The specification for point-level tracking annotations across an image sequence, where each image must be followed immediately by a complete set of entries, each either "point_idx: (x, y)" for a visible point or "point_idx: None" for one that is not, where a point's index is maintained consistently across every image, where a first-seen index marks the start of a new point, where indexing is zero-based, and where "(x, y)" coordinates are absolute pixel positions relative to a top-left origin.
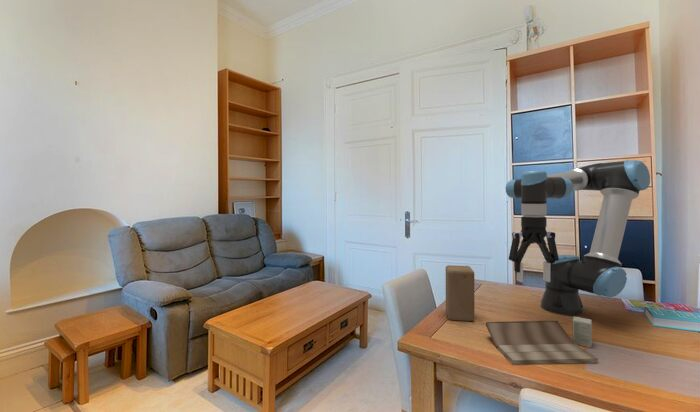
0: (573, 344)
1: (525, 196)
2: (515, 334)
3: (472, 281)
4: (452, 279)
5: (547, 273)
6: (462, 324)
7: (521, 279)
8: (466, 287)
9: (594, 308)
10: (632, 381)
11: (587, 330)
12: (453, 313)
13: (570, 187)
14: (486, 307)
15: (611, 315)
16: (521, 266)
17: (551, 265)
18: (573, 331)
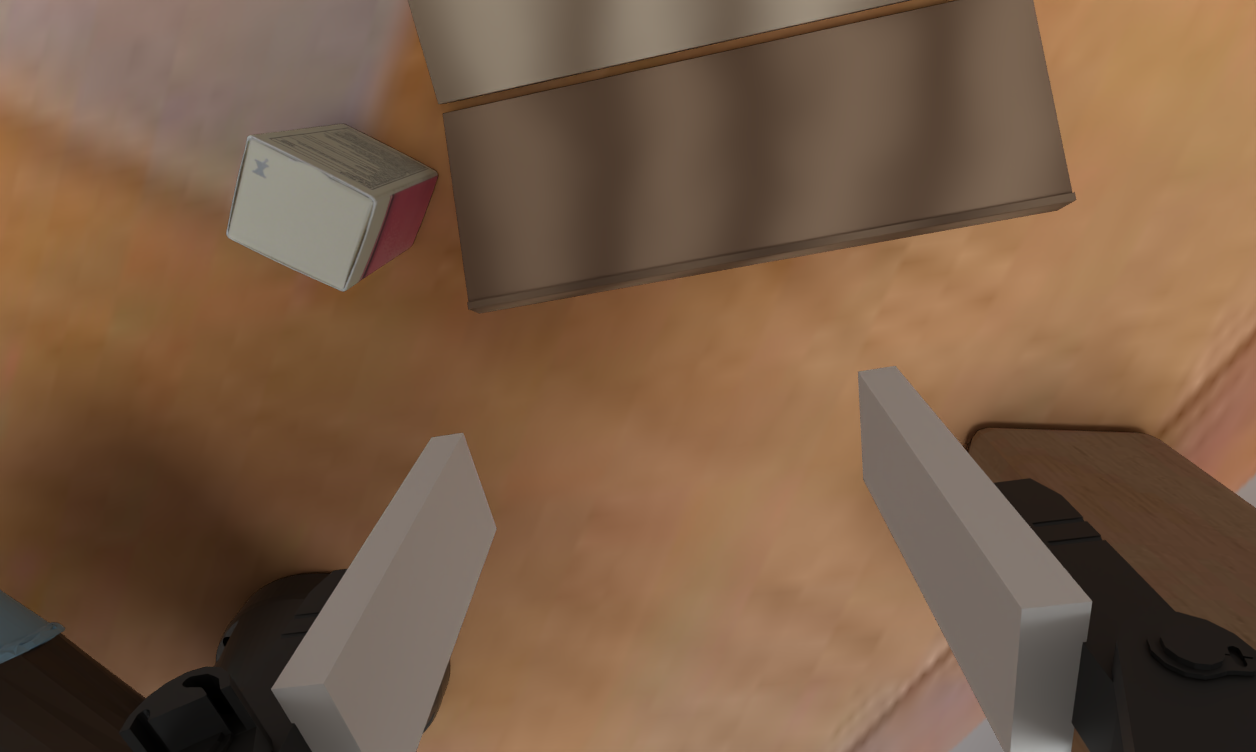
0: (454, 89)
1: None
2: (848, 117)
3: None
4: None
5: (426, 527)
6: (1077, 375)
7: (904, 388)
8: (1224, 605)
9: (167, 673)
10: None
11: (308, 142)
12: (1155, 452)
13: None
14: (786, 641)
15: (103, 595)
16: (1028, 547)
17: (277, 668)
18: (406, 181)
